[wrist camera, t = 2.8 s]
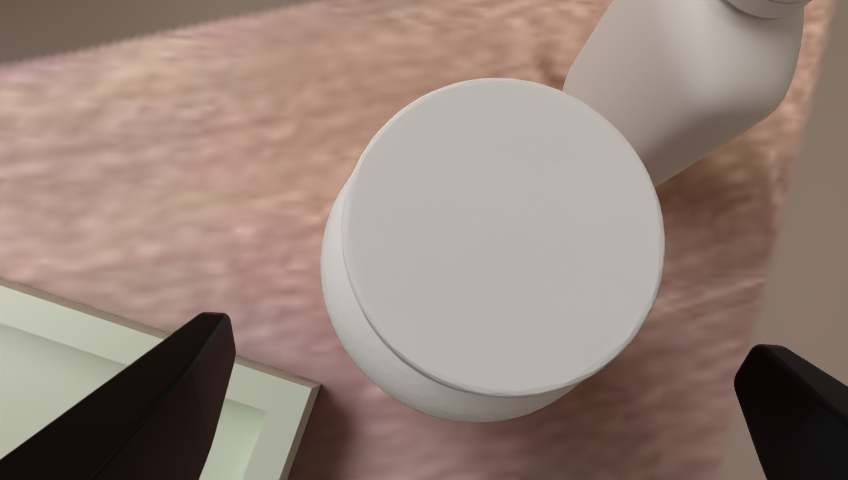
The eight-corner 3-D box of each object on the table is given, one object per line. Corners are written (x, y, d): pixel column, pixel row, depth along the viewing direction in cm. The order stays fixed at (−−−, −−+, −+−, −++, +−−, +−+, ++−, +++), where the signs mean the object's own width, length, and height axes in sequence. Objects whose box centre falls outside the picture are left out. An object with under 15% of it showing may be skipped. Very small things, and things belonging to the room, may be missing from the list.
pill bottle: (501, 197, 19) (646, -5, 8) (549, 363, 18) (795, 390, 7) (336, 234, 18) (250, 70, 7) (374, 409, 17) (340, 522, 6)
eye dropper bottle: (677, 97, 20) (1078, -257, 8) (628, 220, 19) (1017, 13, 7) (575, 52, 20) (828, -359, 8) (522, 171, 19) (728, -112, 7)
